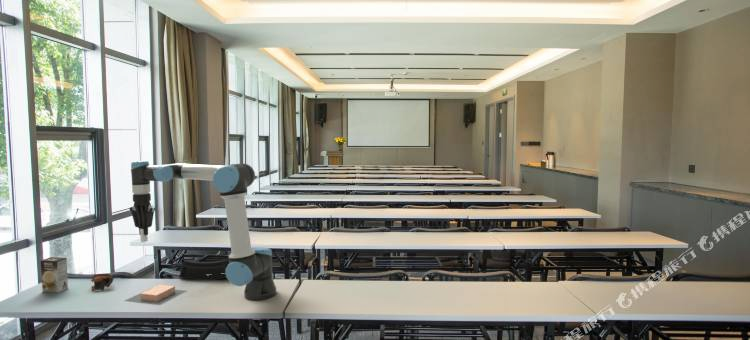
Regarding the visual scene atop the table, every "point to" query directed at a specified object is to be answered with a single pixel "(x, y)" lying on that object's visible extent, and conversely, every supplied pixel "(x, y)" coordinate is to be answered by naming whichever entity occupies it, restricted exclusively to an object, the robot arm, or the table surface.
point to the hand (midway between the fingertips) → (144, 241)
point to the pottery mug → (101, 281)
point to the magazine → (204, 270)
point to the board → (157, 293)
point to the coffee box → (54, 274)
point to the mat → (138, 300)
